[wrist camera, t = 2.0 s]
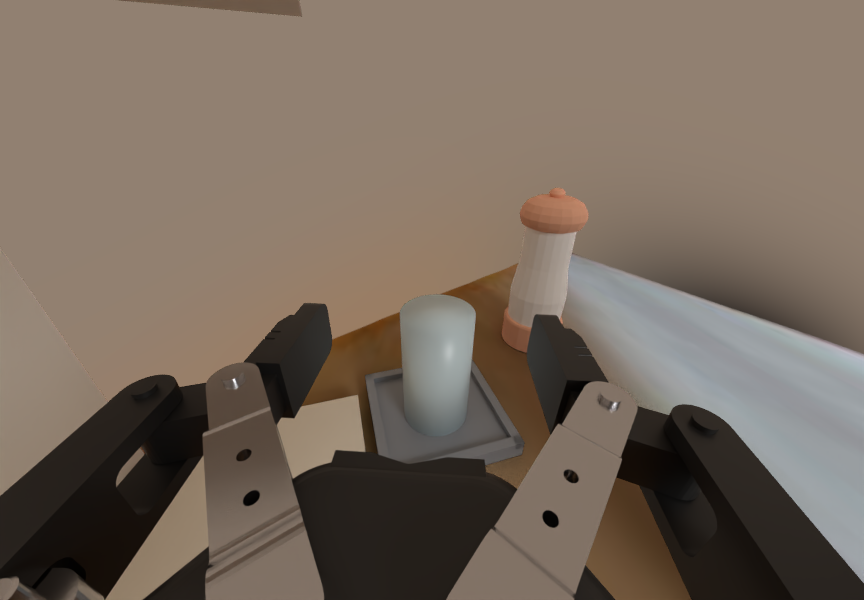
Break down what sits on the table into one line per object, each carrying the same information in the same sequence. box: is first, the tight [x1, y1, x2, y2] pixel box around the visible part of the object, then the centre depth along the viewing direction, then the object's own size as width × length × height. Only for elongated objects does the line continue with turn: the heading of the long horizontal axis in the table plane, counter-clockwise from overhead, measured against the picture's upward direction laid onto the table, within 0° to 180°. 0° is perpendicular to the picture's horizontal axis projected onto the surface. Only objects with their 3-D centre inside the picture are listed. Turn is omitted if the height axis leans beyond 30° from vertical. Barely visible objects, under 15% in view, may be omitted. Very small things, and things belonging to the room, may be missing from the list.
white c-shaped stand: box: [0, 0, 365, 600], centre depth 16 cm, size 20×12×32 cm, turn 107°
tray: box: [365, 360, 525, 465], centre depth 31 cm, size 12×12×2 cm
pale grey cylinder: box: [400, 294, 476, 436], centre depth 28 cm, size 6×6×11 cm
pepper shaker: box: [502, 188, 588, 353], centre depth 38 cm, size 7×7×19 cm
